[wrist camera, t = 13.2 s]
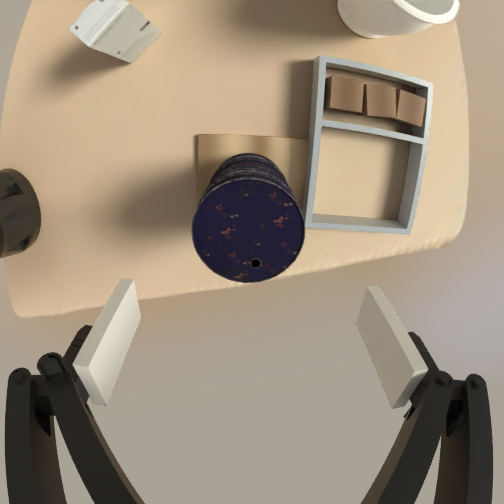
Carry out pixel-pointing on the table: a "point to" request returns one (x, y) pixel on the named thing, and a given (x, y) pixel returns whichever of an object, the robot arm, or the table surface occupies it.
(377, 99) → the block
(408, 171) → the tray
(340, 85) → the block
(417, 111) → the block
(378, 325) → the robot arm
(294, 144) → the mat
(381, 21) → the jar
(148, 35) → the skincare box
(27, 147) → the table surface
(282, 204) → the rusty oil drum
